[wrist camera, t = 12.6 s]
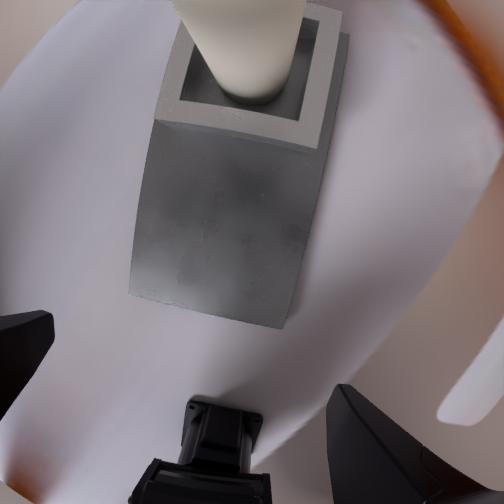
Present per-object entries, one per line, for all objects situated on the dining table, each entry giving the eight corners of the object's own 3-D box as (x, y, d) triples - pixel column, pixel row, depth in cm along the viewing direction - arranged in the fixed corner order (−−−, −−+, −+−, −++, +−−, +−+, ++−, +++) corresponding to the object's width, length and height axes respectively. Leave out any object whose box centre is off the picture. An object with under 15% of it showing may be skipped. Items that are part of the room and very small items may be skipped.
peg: (270, 116, 18) (277, 36, 6) (205, 90, 18) (130, -3, 6) (299, 58, 17) (336, -60, 5) (235, 34, 17) (203, -92, 5)
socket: (282, 323, 22) (285, 352, 18) (133, 289, 22) (110, 310, 18) (346, 40, 17) (361, 15, 13) (190, 13, 17) (176, -14, 13)
